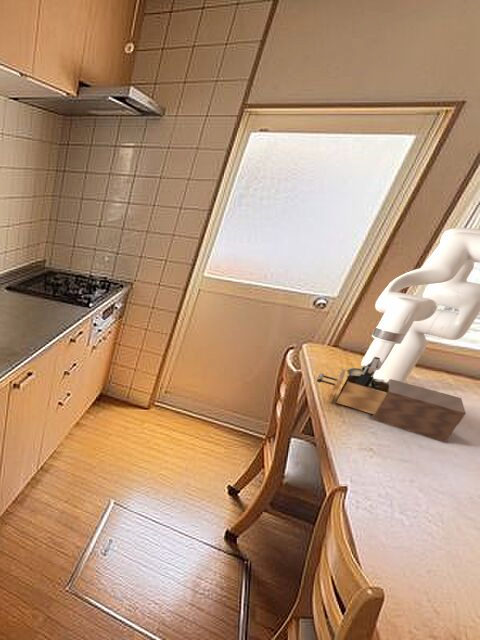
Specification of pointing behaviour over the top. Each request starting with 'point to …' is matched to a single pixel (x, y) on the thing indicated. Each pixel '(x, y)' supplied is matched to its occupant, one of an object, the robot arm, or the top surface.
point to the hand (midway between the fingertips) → (362, 381)
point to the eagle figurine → (356, 374)
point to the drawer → (356, 393)
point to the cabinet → (420, 410)
